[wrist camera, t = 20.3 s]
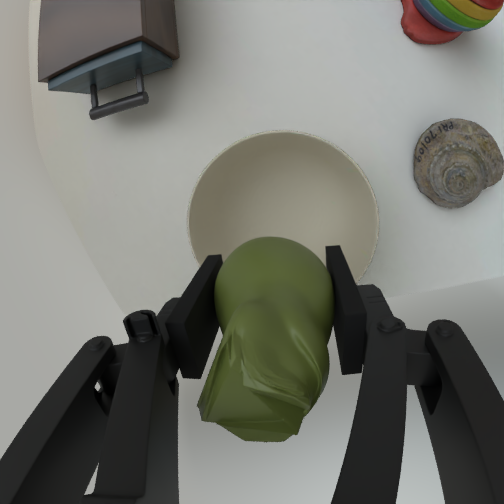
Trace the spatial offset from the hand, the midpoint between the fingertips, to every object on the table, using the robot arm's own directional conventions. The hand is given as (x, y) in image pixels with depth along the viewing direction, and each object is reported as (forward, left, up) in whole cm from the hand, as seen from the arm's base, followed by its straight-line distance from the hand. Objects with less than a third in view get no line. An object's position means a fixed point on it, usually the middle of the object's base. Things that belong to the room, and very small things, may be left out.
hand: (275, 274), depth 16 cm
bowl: (0, 0, -19) cm, 19 cm away
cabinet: (-16, +26, -19) cm, 36 cm away
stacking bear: (+21, +24, -19) cm, 37 cm away
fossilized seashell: (+21, +4, -19) cm, 29 cm away
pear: (0, 0, -1) cm, 1 cm away
